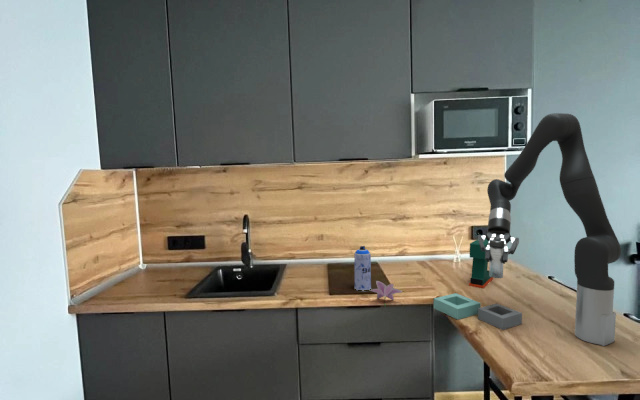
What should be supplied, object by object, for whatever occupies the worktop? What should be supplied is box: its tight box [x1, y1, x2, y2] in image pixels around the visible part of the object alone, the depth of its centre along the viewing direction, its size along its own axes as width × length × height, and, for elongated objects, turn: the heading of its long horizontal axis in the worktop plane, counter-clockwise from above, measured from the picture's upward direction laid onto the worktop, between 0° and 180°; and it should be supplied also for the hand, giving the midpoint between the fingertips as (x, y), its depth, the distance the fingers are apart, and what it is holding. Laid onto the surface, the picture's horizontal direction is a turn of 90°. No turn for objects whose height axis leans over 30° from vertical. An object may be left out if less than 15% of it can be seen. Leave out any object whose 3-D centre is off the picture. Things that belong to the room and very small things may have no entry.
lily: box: [369, 280, 403, 307], centre depth 143 cm, size 12×12×10 cm
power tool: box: [468, 238, 494, 289], centre depth 172 cm, size 32×7×20 cm, turn 141°
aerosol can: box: [353, 245, 372, 292], centre depth 161 cm, size 8×8×20 cm
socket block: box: [477, 302, 523, 331], centre depth 124 cm, size 10×10×4 cm
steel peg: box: [488, 239, 505, 279], centre depth 124 cm, size 5×5×13 cm
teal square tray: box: [433, 292, 482, 320], centre depth 134 cm, size 12×12×4 cm
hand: (496, 261), depth 122 cm, fingers closed on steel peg, 4 cm apart
